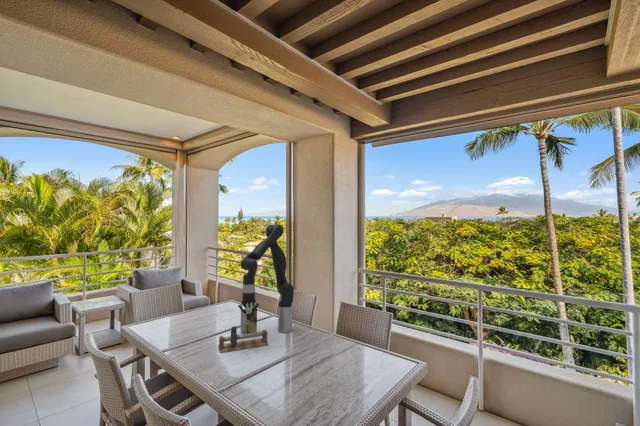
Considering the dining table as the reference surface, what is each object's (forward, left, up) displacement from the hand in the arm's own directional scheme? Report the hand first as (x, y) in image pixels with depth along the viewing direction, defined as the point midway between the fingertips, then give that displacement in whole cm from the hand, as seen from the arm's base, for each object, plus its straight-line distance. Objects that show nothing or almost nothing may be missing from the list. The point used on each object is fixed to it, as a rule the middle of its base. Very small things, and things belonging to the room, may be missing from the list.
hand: (248, 319), depth 173 cm
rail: (+2, 0, -16) cm, 16 cm away
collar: (+8, 0, -14) cm, 16 cm away
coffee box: (-5, -19, -16) cm, 25 cm away
